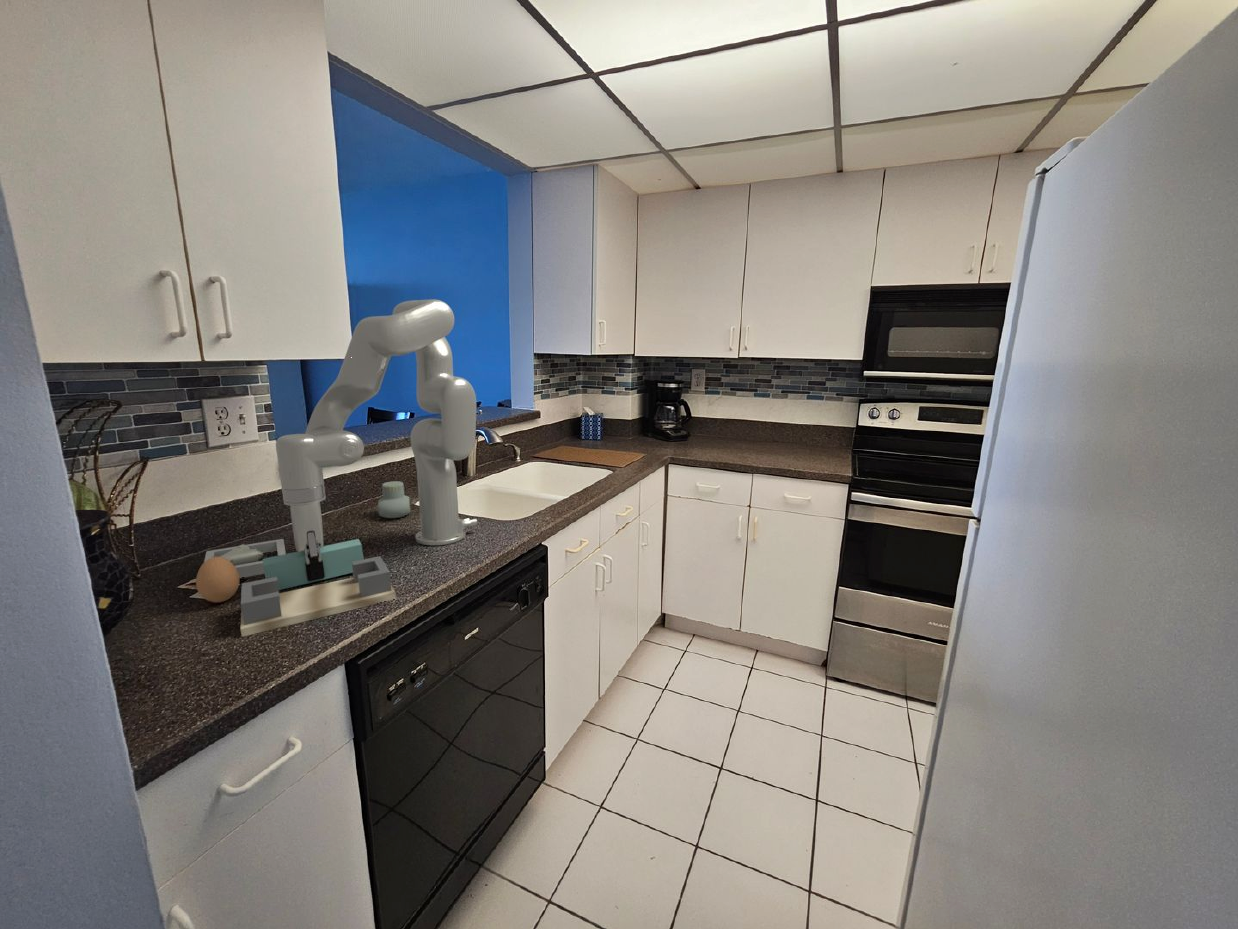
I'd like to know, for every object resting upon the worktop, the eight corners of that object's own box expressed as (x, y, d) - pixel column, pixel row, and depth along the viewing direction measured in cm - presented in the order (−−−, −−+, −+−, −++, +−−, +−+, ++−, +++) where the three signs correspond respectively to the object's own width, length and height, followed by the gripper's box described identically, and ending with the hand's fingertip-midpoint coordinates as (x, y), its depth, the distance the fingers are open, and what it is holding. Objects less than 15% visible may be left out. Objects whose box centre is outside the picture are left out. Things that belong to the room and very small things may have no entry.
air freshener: (381, 511, 157) (378, 480, 155) (410, 509, 160) (408, 478, 158) (378, 522, 147) (375, 489, 145) (409, 520, 150) (407, 486, 148)
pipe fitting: (266, 560, 122) (236, 558, 121) (265, 545, 121) (235, 543, 120) (245, 575, 114) (212, 573, 113) (243, 558, 113) (211, 556, 113)
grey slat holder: (381, 573, 110) (380, 556, 110) (391, 590, 103) (389, 571, 102) (244, 603, 97) (241, 583, 96) (244, 625, 89) (240, 604, 88)
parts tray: (284, 548, 128) (283, 538, 127) (287, 569, 116) (286, 558, 115) (208, 561, 119) (206, 551, 119) (203, 585, 107) (201, 574, 107)
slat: (362, 563, 117) (358, 538, 116) (365, 569, 114) (361, 544, 113) (267, 585, 108) (262, 558, 106) (268, 592, 104) (263, 565, 103)
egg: (244, 590, 105) (237, 548, 103) (240, 604, 100) (233, 560, 98) (203, 598, 102) (195, 555, 100) (197, 612, 96) (188, 567, 94)
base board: (383, 577, 112) (383, 571, 112) (396, 599, 102) (395, 592, 102) (242, 608, 98) (241, 601, 98) (241, 637, 88) (240, 629, 88)
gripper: (281, 487, 111) (292, 566, 115) (284, 507, 98) (297, 595, 102) (320, 482, 115) (330, 558, 119) (329, 500, 102) (340, 585, 106)
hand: (315, 574), depth 110 cm, fingers closed on slat, 4 cm apart
